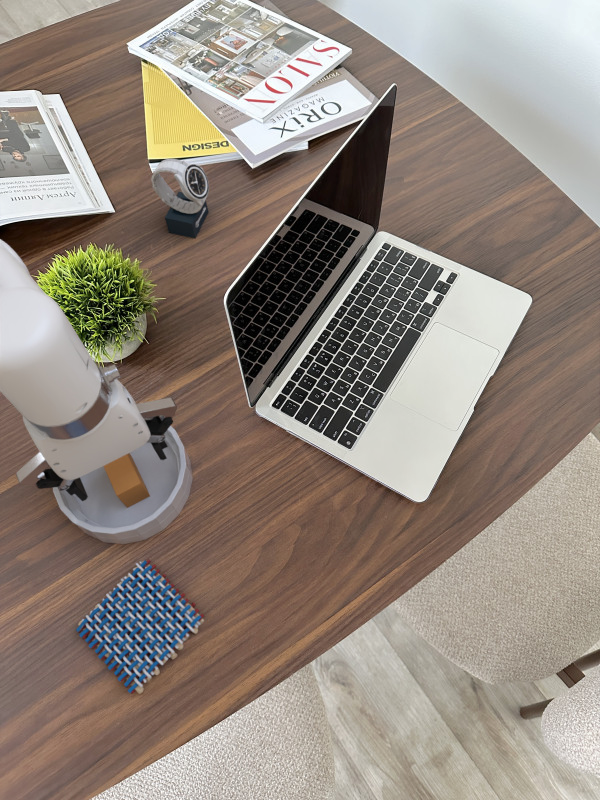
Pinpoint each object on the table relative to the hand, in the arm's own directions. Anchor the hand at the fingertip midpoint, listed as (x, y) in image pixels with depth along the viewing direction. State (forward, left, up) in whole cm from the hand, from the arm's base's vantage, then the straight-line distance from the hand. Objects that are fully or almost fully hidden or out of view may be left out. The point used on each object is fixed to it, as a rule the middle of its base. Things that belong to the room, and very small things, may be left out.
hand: (120, 469), depth 72 cm
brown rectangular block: (0, 0, -5) cm, 5 cm away
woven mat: (-5, -16, -5) cm, 17 cm away
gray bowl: (0, 0, -5) cm, 5 cm away
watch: (+24, +35, -5) cm, 43 cm away
